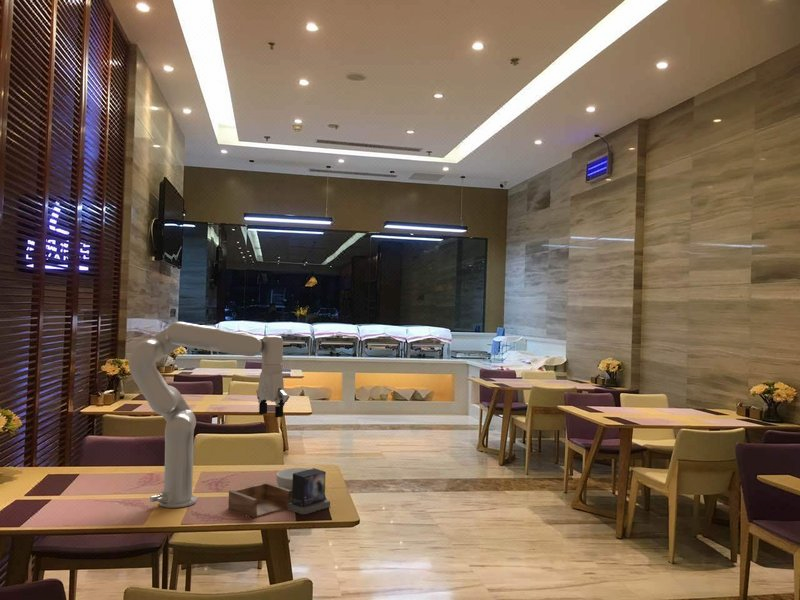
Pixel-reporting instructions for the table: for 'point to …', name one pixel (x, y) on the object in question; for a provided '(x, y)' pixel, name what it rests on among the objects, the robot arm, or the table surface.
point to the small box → (308, 487)
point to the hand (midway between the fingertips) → (270, 415)
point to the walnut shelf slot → (259, 499)
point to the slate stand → (308, 507)
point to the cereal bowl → (287, 477)
